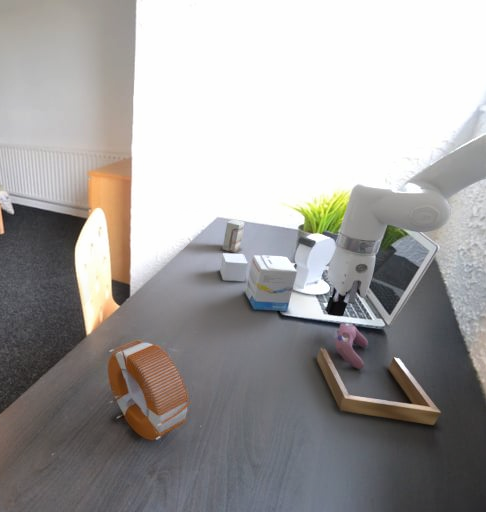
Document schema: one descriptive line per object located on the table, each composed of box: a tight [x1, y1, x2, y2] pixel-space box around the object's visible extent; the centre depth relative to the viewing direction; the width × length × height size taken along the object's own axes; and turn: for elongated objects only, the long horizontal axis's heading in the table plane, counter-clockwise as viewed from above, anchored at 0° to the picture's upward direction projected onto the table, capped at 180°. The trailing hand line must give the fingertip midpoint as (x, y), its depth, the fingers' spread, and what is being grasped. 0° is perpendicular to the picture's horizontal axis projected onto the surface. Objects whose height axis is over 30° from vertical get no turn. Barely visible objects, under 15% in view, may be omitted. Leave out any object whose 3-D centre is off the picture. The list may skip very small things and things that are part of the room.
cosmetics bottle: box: [222, 218, 246, 254], centre depth 125 cm, size 5×4×10 cm
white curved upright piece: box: [292, 229, 339, 296], centre depth 101 cm, size 12×11×15 cm
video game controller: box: [334, 323, 369, 370], centre depth 77 cm, size 10×5×7 cm, turn 141°
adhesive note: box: [219, 252, 249, 282], centre depth 109 cm, size 6×6×6 cm
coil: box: [107, 340, 190, 441], centre depth 61 cm, size 7×15×15 cm, turn 29°
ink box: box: [245, 254, 297, 312], centre depth 94 cm, size 9×8×12 cm
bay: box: [316, 348, 442, 426], centre depth 69 cm, size 14×14×3 cm
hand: (333, 313), depth 86 cm, fingers closed
